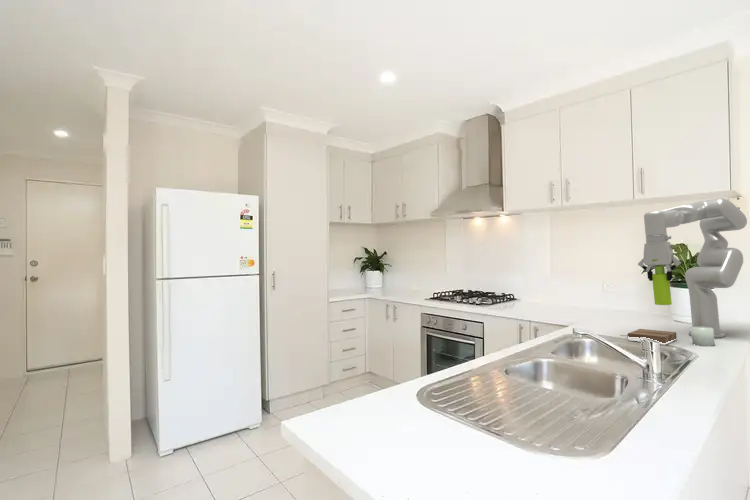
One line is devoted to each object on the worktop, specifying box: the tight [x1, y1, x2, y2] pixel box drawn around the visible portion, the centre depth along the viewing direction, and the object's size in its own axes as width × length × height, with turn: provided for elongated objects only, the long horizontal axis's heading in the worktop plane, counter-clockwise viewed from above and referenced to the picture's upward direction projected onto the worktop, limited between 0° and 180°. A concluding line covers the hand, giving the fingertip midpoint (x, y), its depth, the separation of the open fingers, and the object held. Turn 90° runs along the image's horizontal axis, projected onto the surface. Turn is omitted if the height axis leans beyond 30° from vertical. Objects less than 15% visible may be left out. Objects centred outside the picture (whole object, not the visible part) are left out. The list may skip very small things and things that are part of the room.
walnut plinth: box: [627, 328, 678, 343], centre depth 169 cm, size 14×14×4 cm
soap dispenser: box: [651, 259, 673, 306], centre depth 165 cm, size 6×7×20 cm
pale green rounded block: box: [690, 326, 716, 347], centre depth 158 cm, size 7×7×7 cm
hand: (660, 280), depth 165 cm, fingers closed on soap dispenser, 5 cm apart
